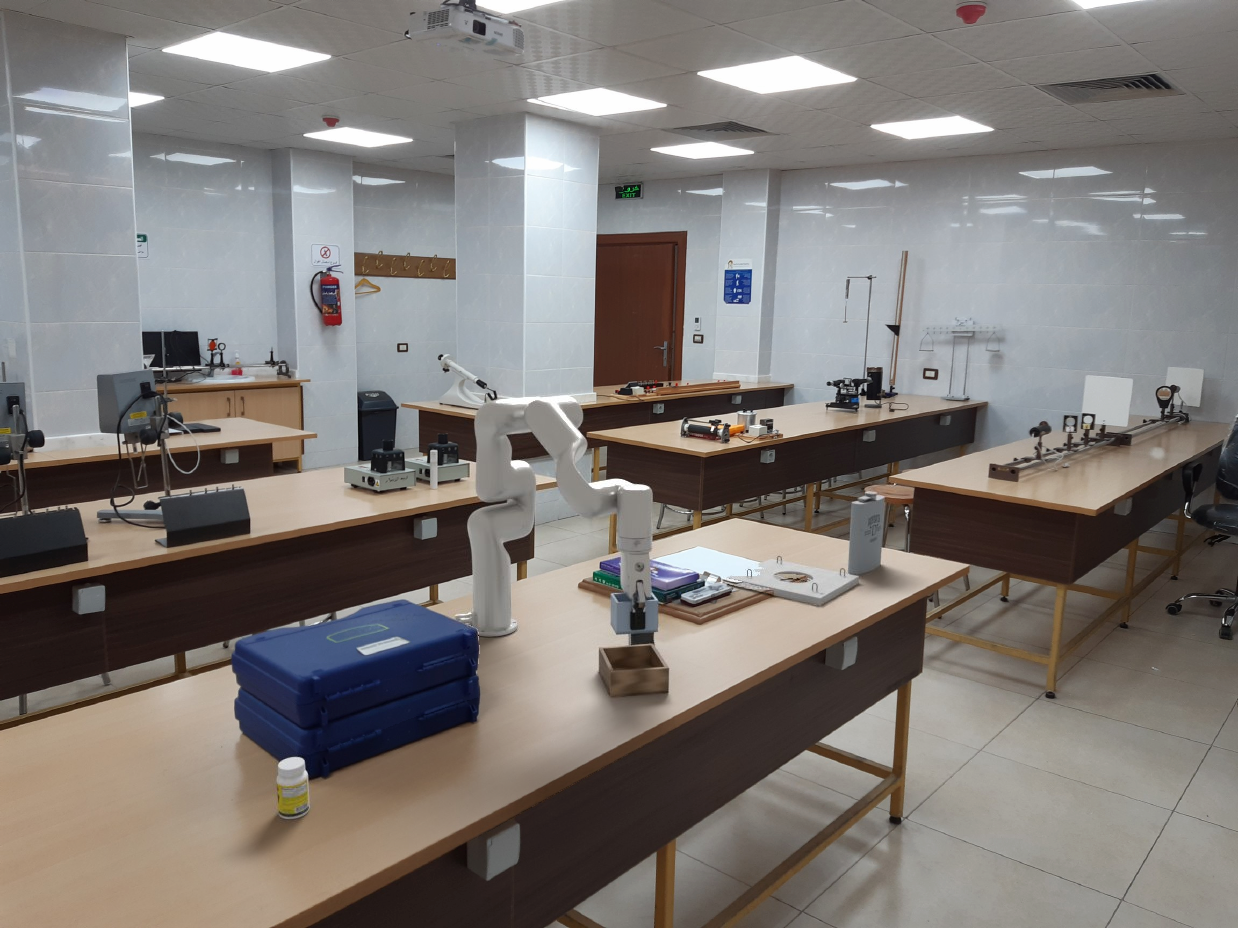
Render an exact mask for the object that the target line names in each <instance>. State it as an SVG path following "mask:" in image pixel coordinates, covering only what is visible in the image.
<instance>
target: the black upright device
mask: <svg viewBox="0 0 1238 928" xmlns="http://www.w3.org/2000/svg"><path fill="white" fill-rule="evenodd" d="M627 636H628V645H641V644H654V646H655V647H656V644H655V632H650V633H636V634H627Z"/></svg>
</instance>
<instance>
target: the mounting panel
mask: <svg viewBox="0 0 1238 928" xmlns="http://www.w3.org/2000/svg"><path fill="white" fill-rule="evenodd" d="M779 558H780V560H779ZM782 559H783V558H782V556H781V555H777V557H776V559H774V558H767V560H764V561H762V562H759V563H758V565H759V566H758V567H762V569H754V570H755V572H760V575H759V574H758V575H757V576H752V570H751V569H748V568H747V569H748V570H750V571H751V576H748V570H747V576H732V575H730V576H728V577H726V579H727V578H729V579H734V580H738V581H742V582H745V583H749V584H751V585H755V586H760V587H765V588H769V589H772V590H774V595H773V596H776V597H779V598H784V599H789V600H793V601H798V602H801V603H807V604H811V605H815V606H819V607H820V606H822V605H824V604H826V603H827V602H829V601H831V600H832V599H834V598H836V597H837V596H839V595H841V594H843V593H844V592H846V591H847V590H850V589H851V588H853V587H855V586H857V585H858V584H860V576H859V575H854V574H850V573H846V569H845V568H844V567H841V568H840V569H839V571H835V570H830V569H825V568H819V567H814V566H809V565H803V564H799V563H794V562H790V561H789V562H788V561H786V560H785V561H784V560H782ZM763 568H764V569H763ZM754 570H753V571H754ZM842 570H843V572H842ZM777 574H796V575H805V576H806V577H808V578H807V579H808V580H807V582H805V581H804V582H790V581H783V580H778V579H776V578H774V575H777Z"/></svg>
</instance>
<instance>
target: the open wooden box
mask: <svg viewBox="0 0 1238 928" xmlns="http://www.w3.org/2000/svg"><path fill="white" fill-rule="evenodd" d="M654 644H655V643H654ZM654 644H641V645H629V644H628V645H626V644H625V645H615V646H614V645H612V646H601V647H598V672H599V674H600V677H601V680H602V681H603V683H604V686H605V688H606V690H607V692H608V694H609V697H610V698H617V697H618V698H619V697H629V696H630V697H631V696H643V695H655V694H656V695H657V694H666V693H667V694H668V693H669V691H670V689H669V688H670V686H669V685H670V667H669V666H668V664H667V663H666V660H665V659H664V658H663V656H662V655H661V653H660V651H659V650H658V649H657V647H656V645H655V646H654Z"/></svg>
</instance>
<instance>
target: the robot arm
mask: <svg viewBox="0 0 1238 928" xmlns="http://www.w3.org/2000/svg"><path fill="white" fill-rule="evenodd" d="M582 408H583V407H581V405H580V403H579V402H578V401H577V400H576V399H575V398H573V397H571V396H569V395H557V396H526V397H512V398H511V397H510V398H500V399H494V400H490V401H488V402H485V403H483V404H482V405H480V407H479V408H477V409H478V410H477V411H476V413H475V417H474V422H473V424H474V435H475V440H476V462H475V484H474V485H475V494H476V496H477V498H479V500H481V501H482V502H484V503H496V502H497V503H498V502H504V501H506V502H504V503H498V504H493V505H488V506H484V507H481V508H478V509H476V510H475V511H473V512H472V513H471V514H470V515H469V517H468V519H467V525H466V526H467V528H466V529H467V532H468V533H467V534H468V538H469V542H470V549H471V563H472V564H471V565H472V567H471V569H472V601H473V602H472V605H473V606H472V607H473V608H471V611H469V612H467V613H455V615H454V617H455V619H456V620H457V621H459V623H460V622H462V623H464V624H467V626H468V625H471V626H473V627H474V628H477V629H478V632H479V637H487V638H488V637H490V638H491V637H492V638H493V637H501V636H506V635H509V634H511V633H514V632H515V631H516V630H517V629H518V621H517V620H516V619H515V618H513V617H512V579H511V578H512V572H511V571H512V570H511V569H512V566H511V563H512V562H511V557H510V555H509V552H508V551H507V550H506V548H505V547H504V543H507V542H509V541H514V540H517V539H521V538H524V537H526V536H528V535H529V534H530V533H531V532H532V529H533V528H534V523H535V514H536V512H535V511H536V495H537V479H536V474H535V472H534V469H533V468H532V466H531V464H529V463H528V462H527V461H524V460H521V459H520V460H519V459H516V460H514V459H513V460H512V455H513V454H512V452H513V448H512V445H511V444H512V443H511V441H510V439H509V438H508V436H507V435H514V434H525V433H532V434H533V435H534V436H535V438H536V439H537V440H538V442H540V444H541V446H543V448H544V449H545V451H546V452H547V453H548V454H549V455H550V457H551V458H552V459H553V460H554V462H555V468H554V469H555V470H554V471H555V472H554V473H555V481H556V484H557V488H558V491H559V492H560V495H561V497H562V498H563V499H564V500H565V501H566V503H567V504H568V505H569V506H570V508H571V509H572V510H573V511H574V512H575V513H576V514H577V515H578V516H580V517H582V518H583V519H587V520H589V519H590V520H593V519H598V518H601V517H605V516H609V515H616V550H617V552H620V587H621V589H622V592H623V593H625V594H626V595H627V596H628V598H630V599H631V608H632V612H630V629H631V630H644V629H645V614H646V611H645V596H646V597H647V598H650V597H651V592H652V573H651V572H652V570H651V560H650V559H651V558H650V552H652V551H653V511H654V510H653V508H654V507H653V500H654V499H653V498H654V497H653V496H654V495H653V490H652V488H651V487H650V486H648V485H645V484H640V483H639V484H637V483H631V482H629V481H627V480H625V479H621V478H610V479H606V480H599V481H594V482H593V481H592V482H590V483H589V482H588V481H587V480H586V478H584V476H583V475H582V474H581V472H580V471H579V470H578V468H577V466H576V463H577V462H578V461H579V460H580V459H581V458H582V457H583V456H584V454H585V452H587V448H588V441H587V439H586V437H585V436H584V435H583V434H582V433H581V431H580V430H579V428H580V427H581V424H582V423H583V421H584V412H583V409H582ZM644 594H645V595H644ZM633 595H637V596H638V597H633ZM636 600H638V602H636V604H635V601H636Z"/></svg>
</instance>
